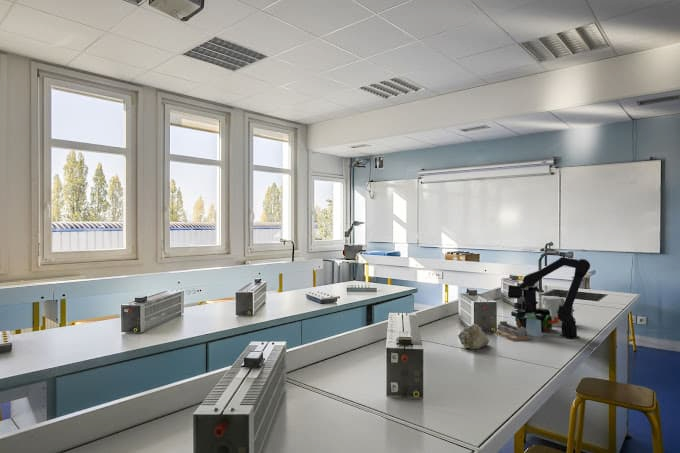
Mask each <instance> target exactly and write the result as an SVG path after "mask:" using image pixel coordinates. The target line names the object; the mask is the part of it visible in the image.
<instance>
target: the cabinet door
mask: <svg viewBox="0 0 680 453" xmlns="http://www.w3.org/2000/svg"><path fill="white" fill-rule="evenodd" d="M525 318H527V321H526V331H527V334H528V333H529V334H528V335H530V336H534V337H536V336H537V338H538V337H539V336H540V337H542V330H541V320H538V319H534V318H531V317H528V316H525Z"/></svg>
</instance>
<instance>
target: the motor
mask: <svg viewBox="0 0 680 453" xmlns="http://www.w3.org/2000/svg"><path fill="white" fill-rule="evenodd" d="M520 311H522V310H520ZM533 313H534V312H533ZM525 316H528V317H531V318H534V319H536V316H535V314H532V315H525ZM546 316H547V317H545V319H544V321H543V322H542V324H541V331H543V332H546V331H548V330H552V329H553V326H552V324H557V323H559V319H558V317H554V321H552V317H551V315H546ZM514 321H515V324H516V327H518V328H521V326H522V325H521V323H520V321H519V319H518V318H516V317H515V319H514Z"/></svg>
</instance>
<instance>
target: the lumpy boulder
mask: <svg viewBox="0 0 680 453" xmlns="http://www.w3.org/2000/svg"><path fill="white" fill-rule="evenodd" d="M457 336H458V337H457V338H458V340H459V341H460V343H461V345H462V346H463V347H464V348H465V347H466V348H470V350H480V349H481V348H484V347H486V346H488V344H489V342H490V340H489V337H488V336H487V335H486V333H485V332H484V331H483V330H482V327H481V326H479V325H478V324H475V323H472V324H471V325H469V326H467V325H466V326H465V327H464V328H463V329H462V330H461V331H460V332H459V334H458V335H457ZM480 347H481V348H480ZM466 348H465V349H466Z"/></svg>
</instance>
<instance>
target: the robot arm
mask: <svg viewBox="0 0 680 453" xmlns="http://www.w3.org/2000/svg"><path fill="white" fill-rule="evenodd" d="M564 266H566V267H570V268H573V269H574V275H573V278H572V281H571V282H570V284H569V285H570V286H569V289H568V291H567V294H566V296H565V298H564V303H563V304H560V303H559V308H558V309H557V313H558V314H557V316H558V319H559V320H560V321H562V326H560V327H561V333H560V334H559V336H560V337H563V338H565V339H578V338H581V336H579V335H578V331H577V325H576V324H577V321H576V318H575V317H574V315H573V316H572V315H571V313H572V306H573V305H574V302H575V299H576V297H577V294H578V292H579V289H580V286H581V285H582V281H583V279H584V277H585V276H586V275H587V274H588V272H589V270H590V269H591V264H590V262H589V261H588V260H587V259H584V258H580V259H577V258H569V257H565V256H561V257H559V258H558V259H556V260H555V261H552V262H551V263H550V264H548V265H546V266H545V267H543V268H541V269H539V270H536V271H532V272H530V273H528V274H525V275H524V277H523V279H522V283H520V285H512V284H509V285H508V290H507V297H508V299H515V300H516V299H518V300H520V299H521V298H523V300H521V303H519V302H514V303H513V306H514V307H513V308H514V309H515V310H514V309H513V310H511V314H510V315H511V317H516V318H518V319H519V321H520V323H521V325H522V327H524V328H525V330H526V321H527V318H525V315H532V314H535V316H536V319H538V320H541V324H542V322H543V321H544V319H545V317H547V316H546V315H550V311H549V310H548V309H545V307H537V305H538V304H539V301H537V292H540V290H541V289H540V288H539V287H538V285H536V284H537V283H538V282H539V281H540V280H542V279H543V278H544V277H546V276H548V275H549V274H551V273H553V272H555V271H556V270H558V269H560V268H562V267H564ZM534 285H535V286H534ZM527 287H528V288H527ZM573 307H574V306H573ZM520 310H521V311H520ZM533 312H534V313H533Z"/></svg>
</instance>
